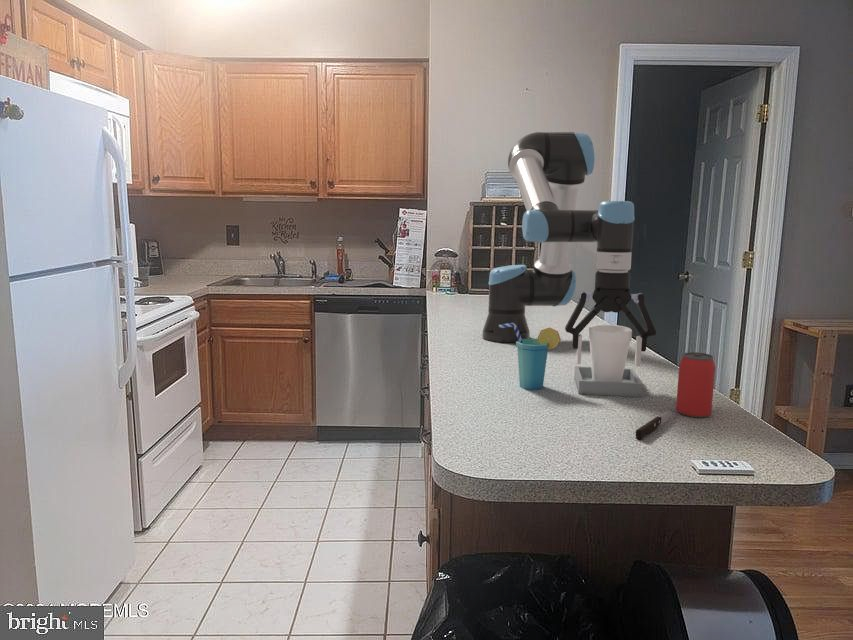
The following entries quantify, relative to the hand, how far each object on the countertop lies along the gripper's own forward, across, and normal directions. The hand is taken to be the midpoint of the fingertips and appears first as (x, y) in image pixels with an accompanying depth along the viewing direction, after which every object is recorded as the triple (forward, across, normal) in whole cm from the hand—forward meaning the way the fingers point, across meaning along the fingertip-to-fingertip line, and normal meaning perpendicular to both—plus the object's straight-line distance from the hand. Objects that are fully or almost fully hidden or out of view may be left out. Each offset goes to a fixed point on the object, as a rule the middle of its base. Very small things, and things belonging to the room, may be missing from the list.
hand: (607, 363), depth 141 cm
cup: (+6, -18, -3) cm, 19 cm away
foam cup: (+5, 0, 0) cm, 5 cm away
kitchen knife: (+6, +6, -26) cm, 28 cm away
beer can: (+6, +15, -16) cm, 23 cm away
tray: (+6, 0, 0) cm, 6 cm away
